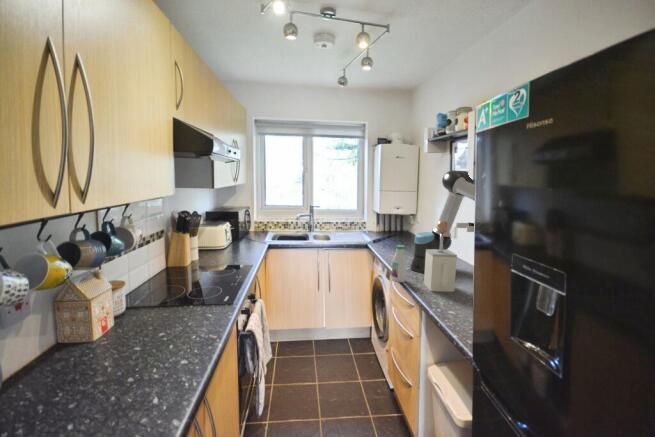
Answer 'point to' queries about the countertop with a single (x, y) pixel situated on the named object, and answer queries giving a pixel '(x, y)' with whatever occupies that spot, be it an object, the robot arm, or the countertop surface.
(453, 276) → the beige rectangular box
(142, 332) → the countertop surface
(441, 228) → the plunger
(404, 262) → the milk bottle
